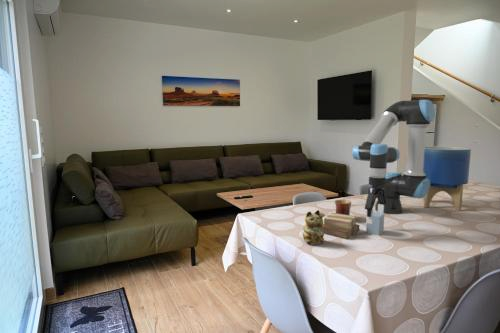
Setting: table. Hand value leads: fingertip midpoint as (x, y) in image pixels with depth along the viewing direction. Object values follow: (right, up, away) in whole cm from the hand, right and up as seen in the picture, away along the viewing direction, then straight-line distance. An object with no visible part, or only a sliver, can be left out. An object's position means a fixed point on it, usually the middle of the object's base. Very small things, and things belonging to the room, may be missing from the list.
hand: (374, 220), depth 158 cm
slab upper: (-17, -3, +1) cm, 17 cm away
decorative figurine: (-32, -8, -11) cm, 35 cm away
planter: (+61, +1, +50) cm, 79 cm away
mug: (-9, -3, +22) cm, 24 cm away
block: (0, -6, +1) cm, 6 cm away
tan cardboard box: (-17, -7, +2) cm, 18 cm away
